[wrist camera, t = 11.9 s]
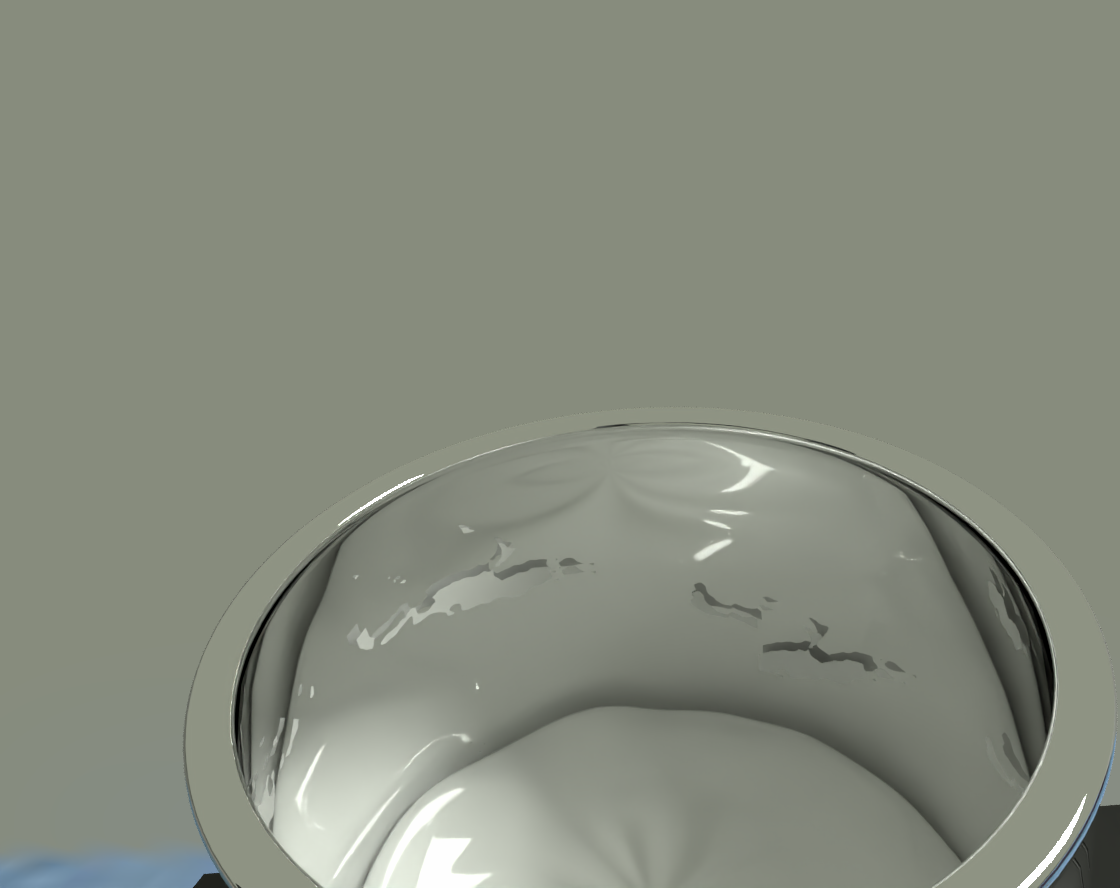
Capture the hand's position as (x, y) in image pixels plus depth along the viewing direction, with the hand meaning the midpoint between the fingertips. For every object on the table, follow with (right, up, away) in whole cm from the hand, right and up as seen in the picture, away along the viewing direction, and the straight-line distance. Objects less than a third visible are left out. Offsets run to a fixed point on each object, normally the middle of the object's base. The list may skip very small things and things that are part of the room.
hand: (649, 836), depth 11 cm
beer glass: (+1, -10, +3) cm, 10 cm away
